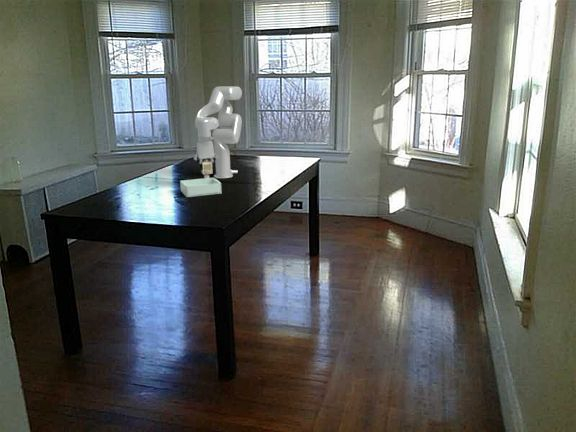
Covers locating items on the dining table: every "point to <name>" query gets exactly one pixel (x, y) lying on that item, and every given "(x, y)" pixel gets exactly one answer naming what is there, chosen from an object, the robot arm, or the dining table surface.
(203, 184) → the bin
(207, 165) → the drawer
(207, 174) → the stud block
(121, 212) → the dining table surface
